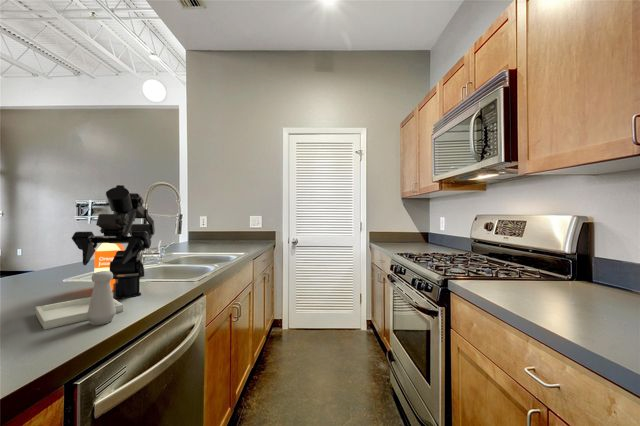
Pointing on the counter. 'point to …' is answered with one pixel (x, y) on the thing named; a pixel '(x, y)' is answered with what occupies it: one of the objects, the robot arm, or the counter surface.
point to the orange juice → (106, 257)
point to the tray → (66, 312)
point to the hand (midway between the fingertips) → (103, 263)
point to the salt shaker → (101, 299)
